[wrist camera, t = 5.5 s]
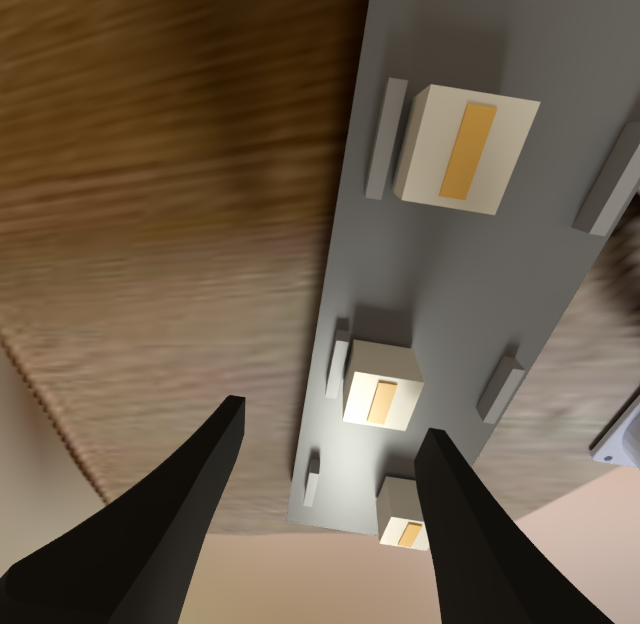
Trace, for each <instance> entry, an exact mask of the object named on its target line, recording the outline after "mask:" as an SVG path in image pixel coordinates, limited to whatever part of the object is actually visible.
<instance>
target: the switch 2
mask: <svg viewBox="0 0 640 624" xmlns="http://www.w3.org/2000/svg"><path fill="white" fill-rule="evenodd" d="M540 103H541V102H538V101H532V100H525V99H519V98H513V97H507V96H501V95H495V94H488V93H482V92H476V91H470V90H464V89H458V88H452V87H445V86H439V85H433V84H431V85H429V86H428V87H427V88H425V89H424V90H423V91H421V92H420V93H419V94H417V95H416V96H415V97H413V100H412V104H411V109H410V113H409V117H408V121H407V125H406V130H405V134H404V138H403V142H402V146H401V151H400V155H399V159H398V163H397V168H396V172H395V176H394V180H393V184H392V189H391V191H392V192H393V193H394V194H395V195H396V196H397V197H399V198H400V199H401V200H404V201H410V202H416V203H422V204H429V205H435V206H441V207H447V208H453V209H459V210H466V211H472V212H478V213H484V214H490V215H495V214H496V211H497V209H498V207H499V204H500V202H501V199H502V197H503V194H504V192H505V189H506V187H507V184H508V182H509V179H510V177H511V174H512V172H513V169H514V167H515V164H516V162H517V159H518V157H519V155H520V152H521V150H522V147H523V145H524V142H525V140H526V137H527V135H528V132H529V130H530V127H531V125H532V122H533V120H534V117H535V115H536V112H537V110H538V108H539V105H540Z"/></svg>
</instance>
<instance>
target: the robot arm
mask: <svg viewBox="0 0 640 624" xmlns="http://www.w3.org/2000/svg"><path fill="white" fill-rule="evenodd" d="M244 426H245V397H239V396H233V395H229V396H228V397H227V398H226V399H225V400H224V401H223V402H222V404H221V405H220V406H219V407H218V408H217V409H216V410H215V412H214V413H213V414H212V415H211V416H210V417H209V418H208V419H207V420H206V421H205V423H204V424H203V425H202V426H201V427H200V428H199V429H198V430H197V431H196V432H195V433H194V434H193V435H192V436H191V437H190V438H189V439H188V440H187V441H186V442H185V443H184V444H183V445H181V446H180V447H179V448H178V449H177V450H176V451H175V452H174V453H173V454H172V455H171V456H170V457H168V458H167V459H166V460H165V461H164V462H163V463H162V464H160V465H159V466H158V467H157V468H156V469H155V470H153V471H152V472H151V473H150V474H148V475H147V476H146V477H145V478H144V479H142V480H141V481H140V482H138V483H137V484H136V485H134V486H133V487H132V488H131V489H129V490H128V491H127V492H125V493H124V494H123V495H121V496H120V497H119V498H117V499H116V500H114V501H113V502H112V503H110V504H109V505H107V506H106V507H105V508H103V509H102V510H100V511H99V512H97V513H96V514H94V515H93V516H91V517H90V518H88V519H87V520H85V521H83V522H82V523H81V524H79V525H78V526H76V527H74V528H73V529H72V530H70V531H69V532H67V533H65V534H63V535H62V536H61V537H59V538H57V539H55V540H54V541H52V542H50V543H49V544H47V545H45V546H44V547H42V548H40V549H38V550H37V551H35V552H33V553H32V554H30V555H28V556H27V557H25V558H23V559H22V560H20V561H18V562H16V563H15V564H13V565H12V566H11V567H10V568H9V569H8V571H7V572H6V573H5V574H4V575H3V576H2V577H1V578H0V624H178V620H179V617H180V614H181V611H182V607H183V604H184V601H185V597H186V594H187V591H188V588H189V585H190V581H191V579H192V575H193V572H194V569H195V565H196V563H197V560H198V557H199V553H200V550H201V548H202V544H203V541H204V538H205V535H206V533H207V530H208V527H209V525H210V522H211V519H212V517H213V515H214V512H215V510H216V507H217V505H218V503H219V500H220V498H221V496H222V493H223V491H224V488H225V486H226V484H227V481H228V479H229V476H230V474H231V472H232V469H233V467H234V464H235V462H236V459H237V456H238V453H239V450H240V446H241V443H242V440H243V436H244ZM590 456H591V457H592V459H593V460H594V461H598V462H604V463H611V464H617V465H623V466H629V467H636V468H639V470H640V395H639V396H638V397H637V398H636V399H635V400H634V402H633V403H632V404H631V405H630V406H629V407H628V409H627V410H626V411H625V412H624V413H623V414H622V416H621V417H620V418H619V419H618V420H617V421H616V423H615V424H614V425H613V426H612V427H611V428H610V430H609V431H608V432H607V433H606V434H605V435H604V437H603V438H602V439H601V440H600V441H599V442H598V444H597V445H596V446H595V447H594V448H593V449H592V451H591V452H590ZM414 468H415V478H416V487H417V493H418V497H419V502H420V506H421V511H422V515H423V520H424V524H425V528H426V533H427V537H428V541H429V546H430V550H431V554H432V559H433V565H434V569H435V576H436V583H437V590H438V597H439V604H440V612H441V620H442V624H615V623H613V622H612V621H611V620H610V619H609V618H608V617H607V616H606V615H604V613H602V612H601V611H600V610H599V609H598V608H597V607H596V606H595V605H594V604H593V603H591V602H590V601H589V600H588V599H587V598H586V597H585V596H584V595H583V594H582V593H581V592H580V591H579V590H578V589H577V588H576V587H575V586H574V585H573V584H572V583H571V582H570V581H569V580H568V579H567V578H566V577H565V576H563V575H562V573H561V572H560V571H559V570H558V569H556V567H555V566H554V565H553V564H552V563H551V562H550V561H549V560H548V559H547V558H546V557H545V556H544V555H543V554H542V553H541V552H540V551H539V550H538V549H537V548H536V546H534V544H533V543H532V542H531V541H530V540H529V539H528V538H527V537H526V535H525V534H524V533H523V532H522V531H521V530H520V529H519V528H518V526H517V525H516V524H515V523H514V522H513V521H512V519H511V518H510V517H509V516H508V515H507V513H506V512H505V511H504V510H503V508H502V507H501V506H500V505H499V503H498V502H497V501H496V500H495V499H494V497H493V496H492V495H491V493H490V492H489V491H488V490H487V488H486V487H485V486H484V484H483V483H482V482H481V480H480V479H479V478H478V476H477V475H476V474H475V472H474V471H473V469H472V468H471V467H470V465H469V464H468V462H467V461H466V460H465V458H464V457H463V455H462V454H461V453H460V451H459V450H458V448H457V447H456V445H455V444H454V443H453V441H452V440H451V438H450V437H449V435H448V434H447V433H446V431H445V430H442V429H435V428H429V429H428V431H427V433H426V435H425V438H424V440H423V442H422V444H421V447H420V449H419V451H418V453H417V455H416V458H415V460H414Z"/></svg>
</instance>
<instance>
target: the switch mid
mask: <svg viewBox="0 0 640 624" xmlns="http://www.w3.org/2000/svg"><path fill="white" fill-rule="evenodd" d="M423 385H424V380H423V377H422V374H421V371H420V368H419V365H418V362H417V359H416V356H415V353H414V350H413V349H410V348H404V347H398V346H392V345H385V344H379V343H373V342H367V341H361V340H354V339H353V344H352V348H351V352H350V356H349V361H348V365H347V369H346V374H345V378H344V382H343V417H342V421H345V422H351V423H357V424H364V425H370V426H376V427H383V428H389V429H395V430H401V431H406V428H407V426H408V423H409V421H410V418H411V416H412V413H413V411H414V408H415V406H416V403H417V401H418V398H419V396H420V393H421V391H422V388H423Z"/></svg>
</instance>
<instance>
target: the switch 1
mask: <svg viewBox="0 0 640 624" xmlns="http://www.w3.org/2000/svg"><path fill="white" fill-rule="evenodd" d="M376 512H377V523H378V535H379V543H381V544H387V545H393V546H400V547H406V548H412V549H418V550H425V551H427V549H428V547H429V541H428V537H427V533H426V528H425V524H424V520H423V515H422V511H421V506H420V502H419V497H418V493H417V487H416V481H413V480H407V479H400V478H394V477H388V476H386V478H385V481H384V483H383V486H382V488H381V491H380V493H379V496H378V498H377V501H376Z"/></svg>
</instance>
